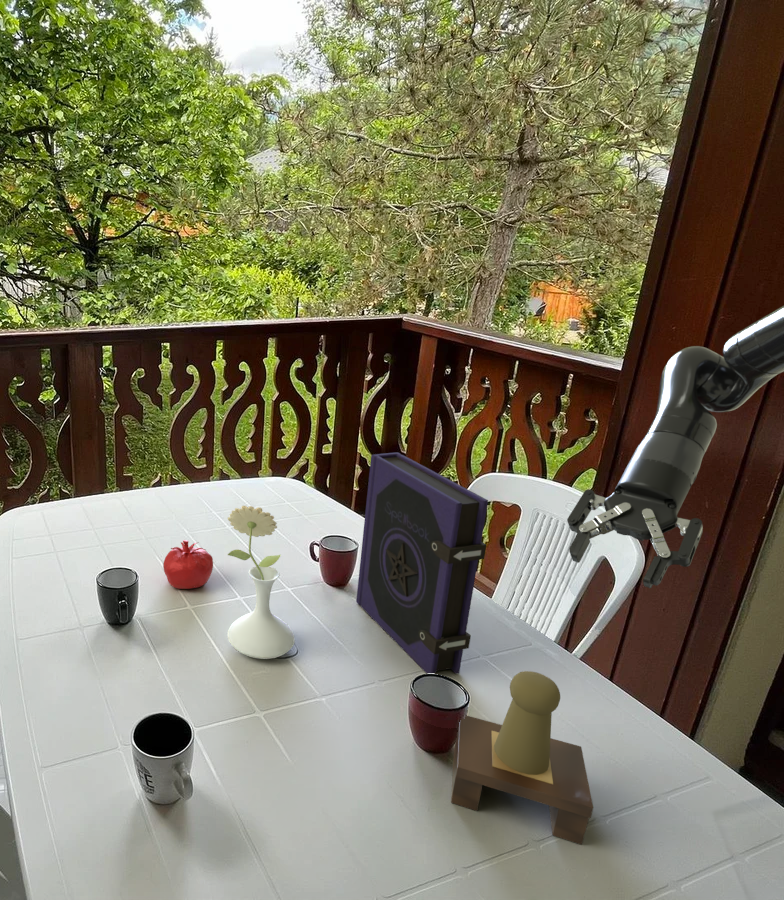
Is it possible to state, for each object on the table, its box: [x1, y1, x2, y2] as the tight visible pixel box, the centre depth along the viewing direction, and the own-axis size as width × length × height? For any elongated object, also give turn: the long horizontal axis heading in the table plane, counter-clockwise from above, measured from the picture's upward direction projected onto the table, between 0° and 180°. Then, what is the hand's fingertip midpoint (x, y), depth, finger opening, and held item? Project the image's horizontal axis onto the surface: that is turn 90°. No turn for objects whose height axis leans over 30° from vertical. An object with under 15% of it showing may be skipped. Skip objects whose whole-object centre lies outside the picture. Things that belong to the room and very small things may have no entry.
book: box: [355, 452, 489, 675], centre depth 107 cm, size 24×6×30 cm, turn 15°
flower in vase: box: [226, 505, 296, 660], centre depth 105 cm, size 13×11×25 cm
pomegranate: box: [162, 539, 214, 590], centre depth 127 cm, size 10×10×9 cm
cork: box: [494, 670, 561, 775], centre depth 76 cm, size 6×6×11 cm
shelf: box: [450, 714, 594, 846], centre depth 78 cm, size 14×10×6 cm
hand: (609, 571), depth 84 cm, fingers open, 8 cm apart
